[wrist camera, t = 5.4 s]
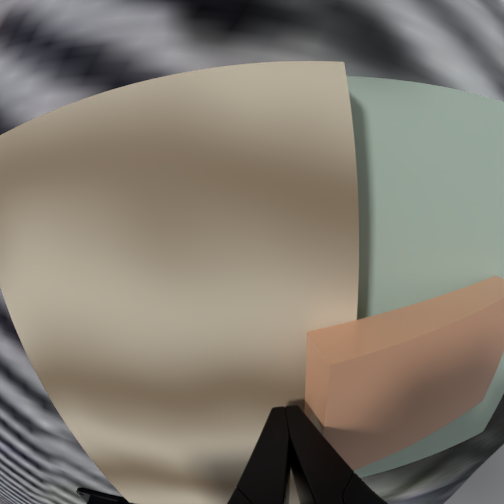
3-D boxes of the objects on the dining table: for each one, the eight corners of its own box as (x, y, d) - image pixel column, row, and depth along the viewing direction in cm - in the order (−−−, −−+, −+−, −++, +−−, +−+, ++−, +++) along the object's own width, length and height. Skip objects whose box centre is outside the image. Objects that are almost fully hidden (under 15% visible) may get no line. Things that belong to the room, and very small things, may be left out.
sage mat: (479, 426, 14) (483, 431, 13) (323, 477, 14) (324, 485, 13) (542, 118, 8) (550, 118, 7) (325, 80, 8) (330, 75, 8)
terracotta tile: (464, 384, 11) (482, 401, 10) (301, 453, 10) (315, 483, 8) (495, 275, 9) (522, 288, 8) (306, 331, 8) (330, 365, 6)
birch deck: (323, 477, 14) (328, 503, 12) (135, 479, 14) (128, 502, 12) (325, 80, 8) (344, 61, 6) (8, 147, 8) (-25, 149, 6)
